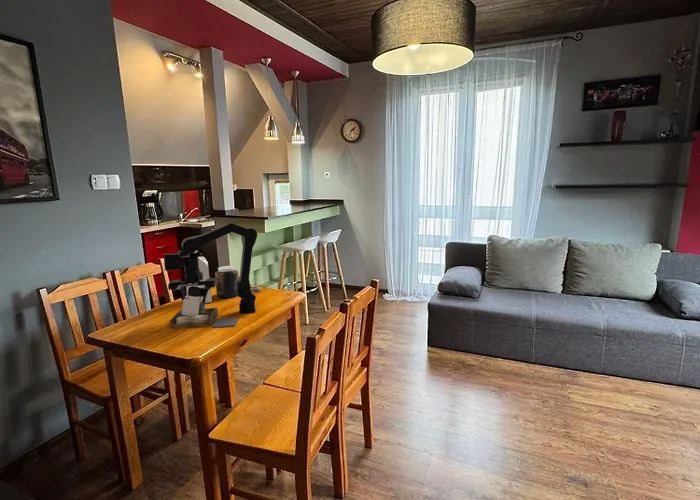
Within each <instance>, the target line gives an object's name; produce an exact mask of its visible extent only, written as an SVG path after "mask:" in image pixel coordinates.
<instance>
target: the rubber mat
mask: <svg viewBox="0 0 700 500" xmlns="http://www.w3.org/2000/svg"><path fill="white" fill-rule="evenodd" d="M238 321H239V317H226V318H225V317H223V318H222V317H221V318H216V319H215V321H214V322H213V324H212V328H213V329H215V328H217V329H218V328H231V327H236V325H237V323H238Z"/></svg>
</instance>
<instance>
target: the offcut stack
mask: <svg viewBox="0 0 700 500" xmlns="http://www.w3.org/2000/svg"><path fill="white" fill-rule="evenodd" d="M208 318H209V316H208V315H197V316H183V317H178V318H177V321H176V324H183V323H200V322H208Z"/></svg>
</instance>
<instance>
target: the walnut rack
mask: <svg viewBox="0 0 700 500" xmlns="http://www.w3.org/2000/svg"><path fill="white" fill-rule="evenodd" d="M218 310H219V309H218V307H208V308H207V307H205V308H204V313H203V314H201V315H208V319H207V321H208V322H200V323H183V324H176V321H177V318H178V317H183V316H185V315H182V309H179V310H178V311H177V312H176V313H175V314H174V315H173V316H172V318H171V319H170V320H169V322H170V329H185V328H199V327H201V328H202V327H211V326H212V327H213V325H214V323H215V321H216V320H217V319H218V318H217V317H218V316H219V311H218Z"/></svg>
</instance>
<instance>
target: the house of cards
mask: <svg viewBox="0 0 700 500" xmlns="http://www.w3.org/2000/svg"><path fill="white" fill-rule="evenodd" d="M253 282H254V283H253ZM255 282H256V280H255V279H254V278H252V279H251V281H250V289H251V292H252V293H253V294H254V293H259V292H260V293H261V292H262V291H261V287H260V286H259V285H258V284H257V283H255Z"/></svg>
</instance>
